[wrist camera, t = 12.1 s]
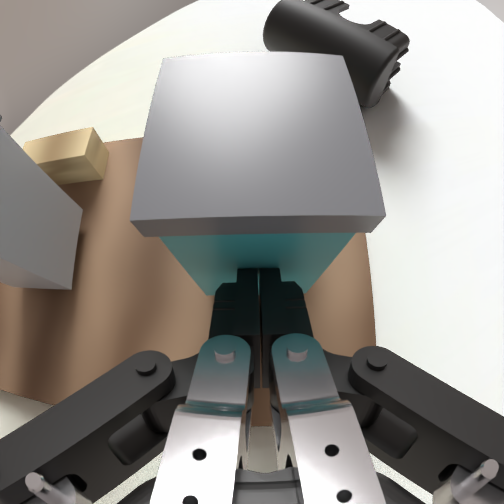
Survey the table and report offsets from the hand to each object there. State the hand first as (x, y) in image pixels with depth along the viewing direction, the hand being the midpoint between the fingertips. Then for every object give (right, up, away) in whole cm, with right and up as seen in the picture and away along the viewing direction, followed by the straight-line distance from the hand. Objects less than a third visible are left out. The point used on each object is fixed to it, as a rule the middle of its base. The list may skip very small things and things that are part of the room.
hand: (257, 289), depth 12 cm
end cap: (+7, +17, +13) cm, 22 cm away
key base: (-6, 0, +7) cm, 10 cm away
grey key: (-13, +2, +5) cm, 14 cm away
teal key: (0, +2, +5) cm, 5 cm away
